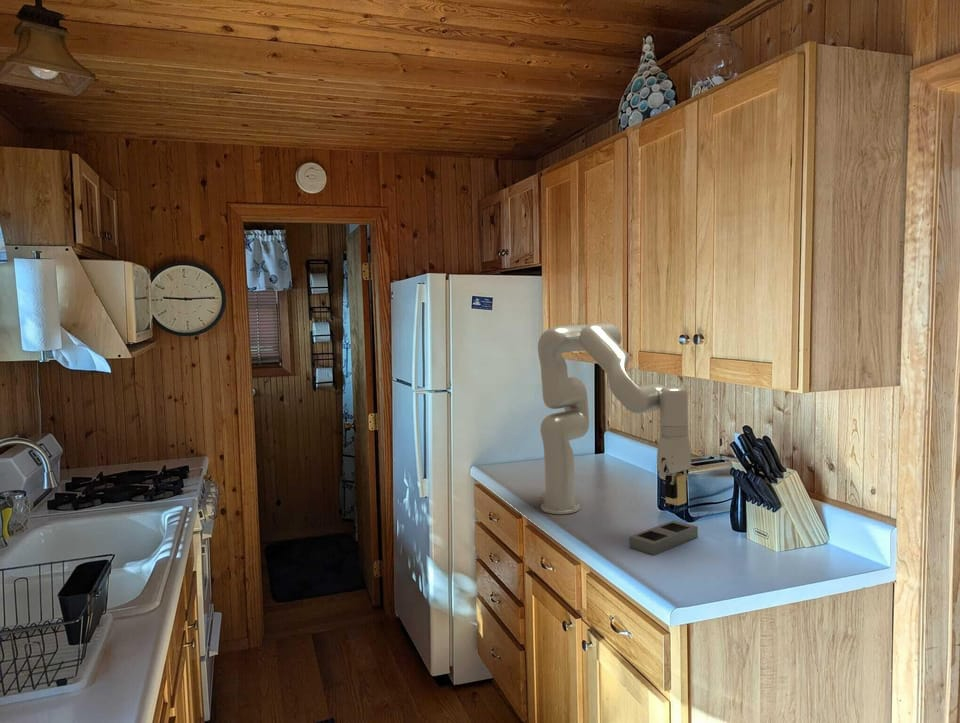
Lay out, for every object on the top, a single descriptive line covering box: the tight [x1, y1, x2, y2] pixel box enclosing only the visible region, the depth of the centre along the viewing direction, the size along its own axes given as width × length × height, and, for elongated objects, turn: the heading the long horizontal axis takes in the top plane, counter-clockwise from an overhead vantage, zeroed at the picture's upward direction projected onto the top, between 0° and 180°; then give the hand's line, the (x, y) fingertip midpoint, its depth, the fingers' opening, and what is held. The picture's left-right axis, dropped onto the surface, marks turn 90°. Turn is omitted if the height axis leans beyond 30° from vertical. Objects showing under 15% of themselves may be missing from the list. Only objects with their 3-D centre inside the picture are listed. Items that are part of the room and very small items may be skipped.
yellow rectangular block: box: [665, 473, 687, 507], centre depth 190 cm, size 4×4×8 cm
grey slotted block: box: [628, 519, 699, 556], centre depth 188 cm, size 8×20×3 cm, turn 129°
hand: (675, 495), depth 190 cm, fingers closed on yellow rectangular block, 4 cm apart
